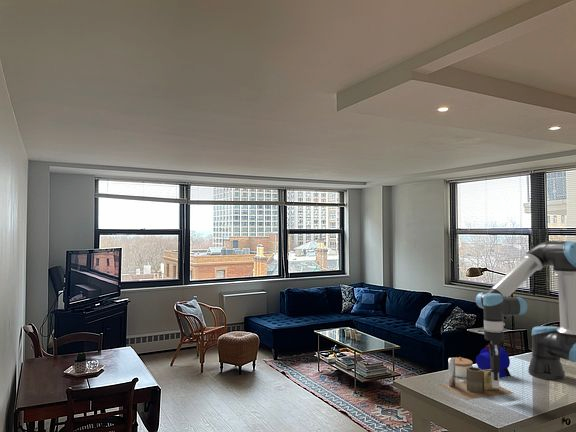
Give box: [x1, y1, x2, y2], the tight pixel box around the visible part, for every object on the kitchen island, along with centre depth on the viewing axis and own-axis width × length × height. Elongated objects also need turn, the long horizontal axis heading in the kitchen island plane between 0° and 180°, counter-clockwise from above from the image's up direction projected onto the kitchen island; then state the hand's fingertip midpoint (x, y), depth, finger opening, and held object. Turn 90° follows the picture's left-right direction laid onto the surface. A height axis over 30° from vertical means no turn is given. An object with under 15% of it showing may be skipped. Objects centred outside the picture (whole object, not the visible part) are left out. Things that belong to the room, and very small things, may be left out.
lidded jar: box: [454, 356, 474, 378], centre depth 202 cm, size 11×11×9 cm
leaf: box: [483, 371, 499, 390], centre depth 181 cm, size 7×1×8 cm, turn 98°
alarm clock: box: [475, 342, 511, 379], centre depth 207 cm, size 12×12×15 cm
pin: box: [447, 357, 457, 387], centre depth 186 cm, size 3×3×12 cm
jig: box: [438, 366, 514, 400], centre depth 184 cm, size 24×18×10 cm
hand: (495, 387), depth 178 cm, fingers closed
